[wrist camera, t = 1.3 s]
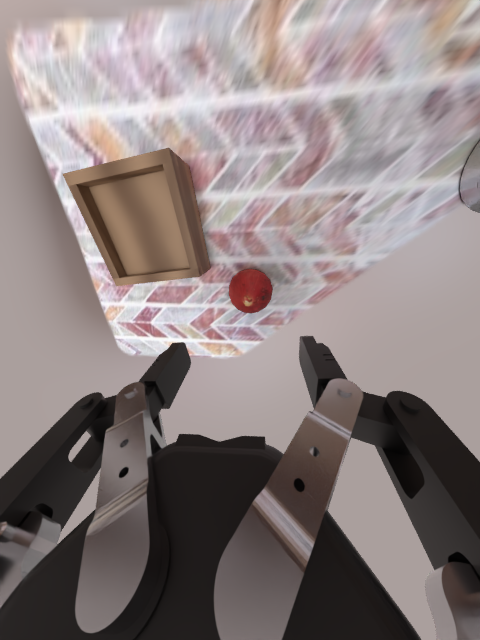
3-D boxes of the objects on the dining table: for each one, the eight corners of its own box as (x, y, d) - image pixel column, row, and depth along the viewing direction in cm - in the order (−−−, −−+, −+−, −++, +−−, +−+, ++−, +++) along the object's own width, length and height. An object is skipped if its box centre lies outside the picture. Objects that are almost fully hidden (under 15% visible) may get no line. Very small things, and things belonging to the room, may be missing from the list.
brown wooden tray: (190, 166, 21) (168, 147, 16) (211, 267, 26) (199, 276, 21) (105, 185, 22) (62, 174, 18) (141, 276, 28) (116, 286, 23)
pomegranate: (273, 266, 25) (278, 280, 18) (267, 302, 27) (270, 328, 20) (233, 262, 25) (223, 275, 18) (232, 299, 28) (222, 323, 21)
